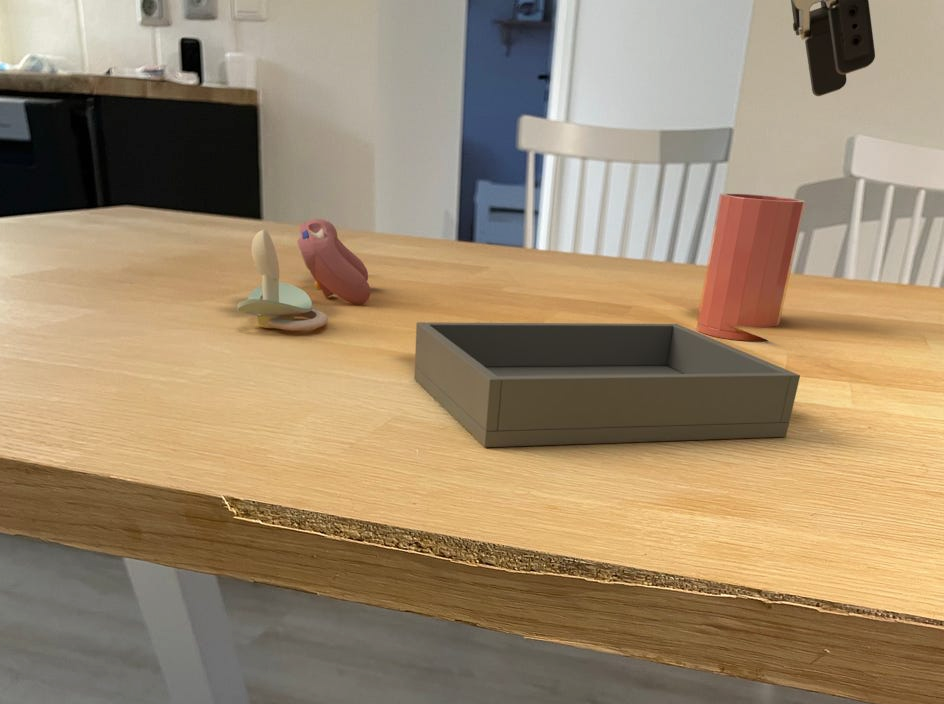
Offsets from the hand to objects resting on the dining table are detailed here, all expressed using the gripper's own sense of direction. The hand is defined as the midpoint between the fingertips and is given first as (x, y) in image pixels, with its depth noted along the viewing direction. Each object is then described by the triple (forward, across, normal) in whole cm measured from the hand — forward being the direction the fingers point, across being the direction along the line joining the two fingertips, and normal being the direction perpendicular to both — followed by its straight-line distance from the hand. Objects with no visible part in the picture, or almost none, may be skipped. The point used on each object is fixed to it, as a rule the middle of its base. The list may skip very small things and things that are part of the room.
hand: (842, 81), depth 63 cm
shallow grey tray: (+14, -20, +20) cm, 32 cm away
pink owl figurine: (+3, +7, +40) cm, 41 cm away
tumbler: (+15, +7, +9) cm, 19 cm away
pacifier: (+5, -8, +40) cm, 41 cm away
